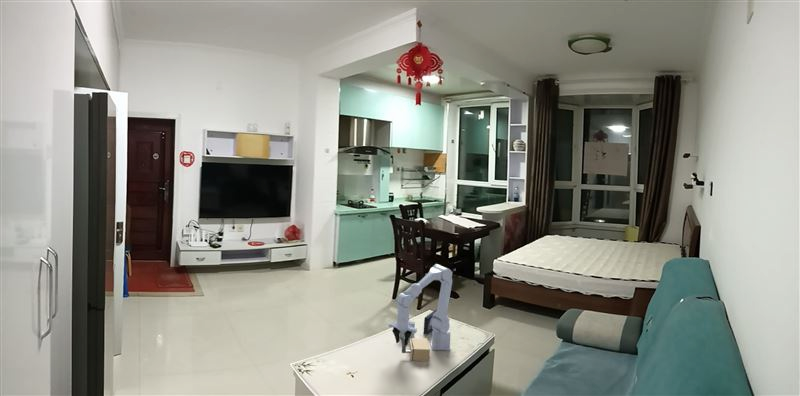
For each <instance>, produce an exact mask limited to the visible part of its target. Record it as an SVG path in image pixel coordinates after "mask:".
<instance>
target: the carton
mask: <svg viewBox="0 0 800 396" xmlns="http://www.w3.org/2000/svg"><path fill="white" fill-rule="evenodd" d="M411 341H412V348H413V354H412V361H414V362H415V361H416V362H430V358H431V357H430V356H431V354H430V353H431V348H430V345H429V341H428V338H427V337H425V338H424V337H420V338H419V337H414V338H412V339H411Z"/></svg>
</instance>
